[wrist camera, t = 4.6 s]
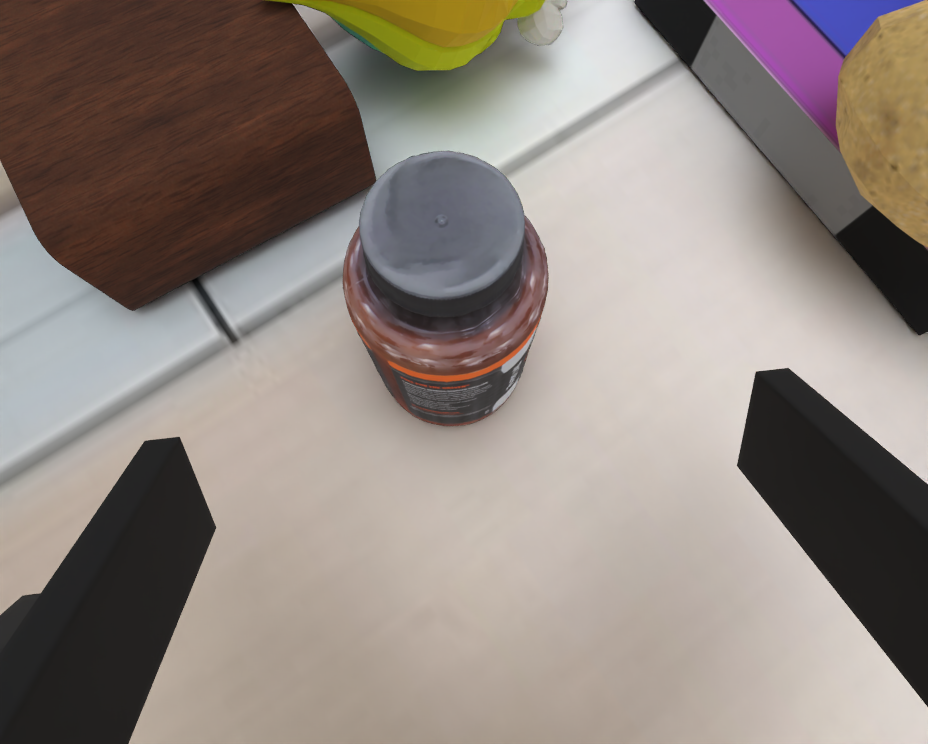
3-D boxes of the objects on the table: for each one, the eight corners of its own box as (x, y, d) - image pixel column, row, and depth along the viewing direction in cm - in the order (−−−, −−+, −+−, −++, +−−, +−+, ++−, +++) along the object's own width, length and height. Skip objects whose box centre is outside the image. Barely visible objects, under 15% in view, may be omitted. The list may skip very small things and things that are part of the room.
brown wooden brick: (379, 191, 26) (356, 97, 21) (140, 317, 25) (43, 253, 19) (168, -129, 32) (104, -273, 26) (-39, -43, 30) (-158, -177, 24)
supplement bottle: (545, 394, 24) (614, 282, 13) (414, 452, 23) (371, 384, 12) (486, 275, 25) (503, 83, 14) (361, 326, 25) (280, 165, 14)
